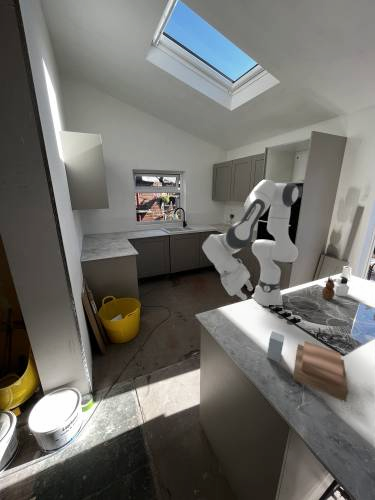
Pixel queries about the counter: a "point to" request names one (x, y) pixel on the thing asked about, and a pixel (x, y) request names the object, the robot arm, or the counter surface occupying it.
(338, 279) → the medicine bottle
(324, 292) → the wooden figurine
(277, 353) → the slate brick
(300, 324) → the counter surface
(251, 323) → the counter surface
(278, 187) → the robot arm
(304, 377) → the plinth
